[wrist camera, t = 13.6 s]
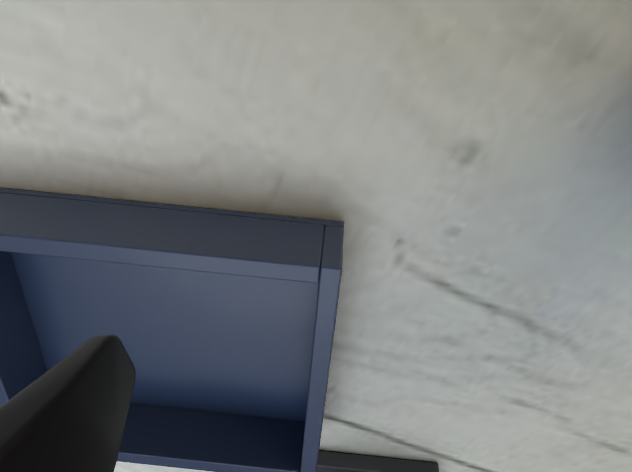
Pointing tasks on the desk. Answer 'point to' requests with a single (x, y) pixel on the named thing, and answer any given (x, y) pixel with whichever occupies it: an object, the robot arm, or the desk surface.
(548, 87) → the desk surface
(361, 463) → the ring stand
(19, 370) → the box
